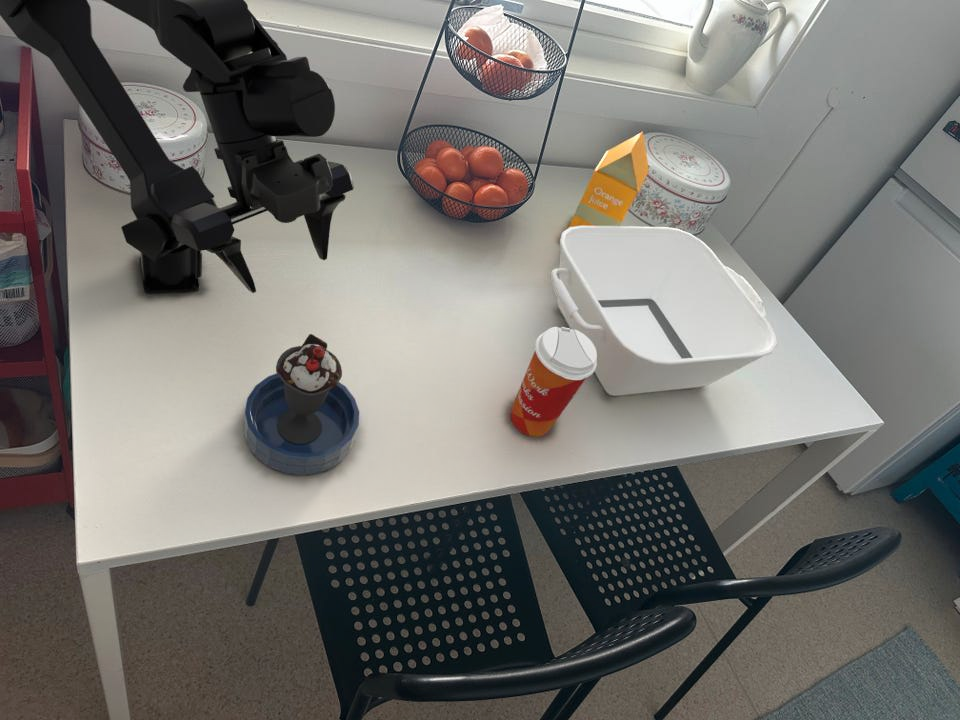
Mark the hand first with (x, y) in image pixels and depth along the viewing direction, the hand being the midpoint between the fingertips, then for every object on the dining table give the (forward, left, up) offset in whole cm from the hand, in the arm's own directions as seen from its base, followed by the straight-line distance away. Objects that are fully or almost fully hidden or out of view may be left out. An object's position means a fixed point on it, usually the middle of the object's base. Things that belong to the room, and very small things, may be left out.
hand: (289, 274), depth 79 cm
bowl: (0, -13, -13) cm, 18 cm away
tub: (+51, -6, -13) cm, 53 cm away
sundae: (0, -12, -12) cm, 17 cm away
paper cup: (+29, -16, -13) cm, 35 cm away
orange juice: (+57, +19, -13) cm, 61 cm away
